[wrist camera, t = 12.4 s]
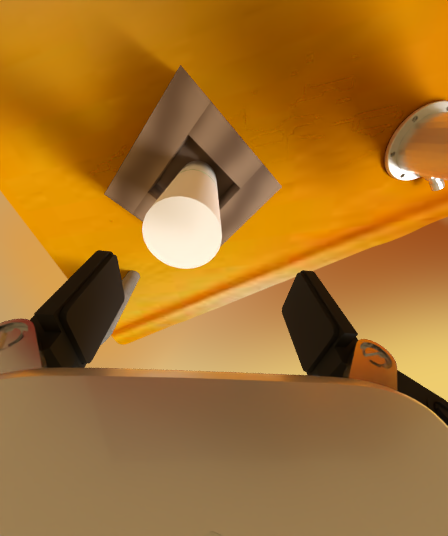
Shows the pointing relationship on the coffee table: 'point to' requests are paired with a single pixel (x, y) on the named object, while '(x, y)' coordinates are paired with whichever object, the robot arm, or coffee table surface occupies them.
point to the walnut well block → (192, 157)
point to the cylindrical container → (186, 219)
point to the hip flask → (128, 287)
